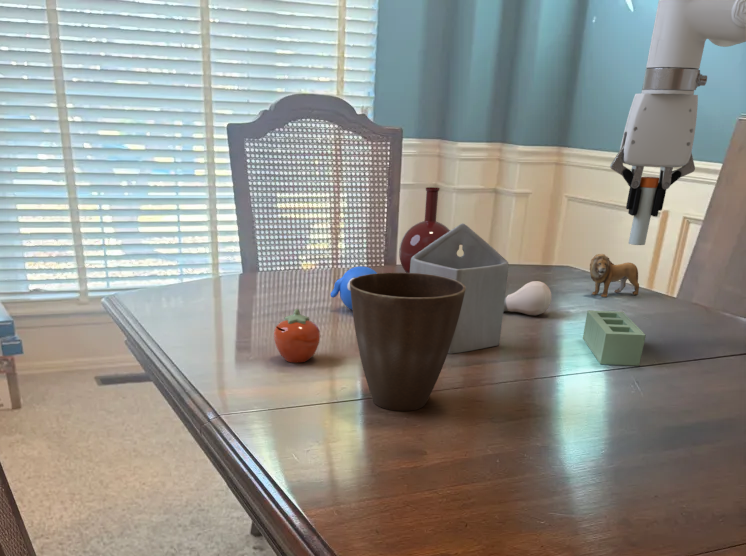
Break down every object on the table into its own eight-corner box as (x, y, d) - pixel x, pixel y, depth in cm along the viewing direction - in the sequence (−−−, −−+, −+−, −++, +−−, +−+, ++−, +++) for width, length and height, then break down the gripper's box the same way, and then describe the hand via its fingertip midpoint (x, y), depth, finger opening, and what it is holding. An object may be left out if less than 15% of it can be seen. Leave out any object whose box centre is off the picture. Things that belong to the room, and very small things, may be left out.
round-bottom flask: (391, 276, 184) (396, 185, 174) (444, 275, 186) (452, 185, 176) (405, 288, 173) (411, 191, 163) (461, 287, 175) (470, 191, 165)
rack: (582, 338, 138) (587, 310, 136) (617, 339, 138) (623, 311, 136) (600, 364, 125) (606, 333, 122) (639, 365, 124) (645, 335, 122)
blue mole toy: (330, 320, 146) (331, 274, 142) (329, 305, 157) (330, 262, 152) (393, 320, 147) (396, 275, 143) (388, 306, 157) (390, 263, 153)
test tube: (643, 242, 128) (657, 176, 123) (647, 245, 126) (661, 178, 121) (626, 242, 129) (639, 176, 124) (629, 244, 126) (643, 177, 121)
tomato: (268, 355, 126) (267, 305, 122) (311, 351, 128) (311, 302, 124) (281, 368, 120) (280, 316, 116) (326, 363, 122) (327, 312, 118)
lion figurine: (595, 300, 166) (603, 256, 162) (578, 295, 170) (585, 252, 166) (645, 294, 172) (654, 252, 167) (627, 289, 176) (636, 248, 172)
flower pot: (476, 404, 107) (489, 285, 99) (404, 430, 98) (413, 302, 90) (396, 378, 116) (402, 268, 108) (324, 400, 107) (325, 281, 99)
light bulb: (490, 288, 151) (547, 277, 147) (496, 289, 157) (551, 278, 153) (494, 323, 153) (551, 312, 148) (500, 322, 158) (555, 312, 154)
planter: (401, 350, 129) (408, 227, 120) (405, 338, 136) (413, 220, 126) (499, 357, 127) (514, 232, 117) (499, 344, 134) (513, 225, 124)
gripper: (717, 85, 118) (687, 214, 128) (609, 82, 120) (587, 210, 129) (733, 84, 112) (700, 220, 121) (619, 81, 113) (595, 216, 122)
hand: (642, 213), depth 125 cm, fingers closed on test tube, 2 cm apart
